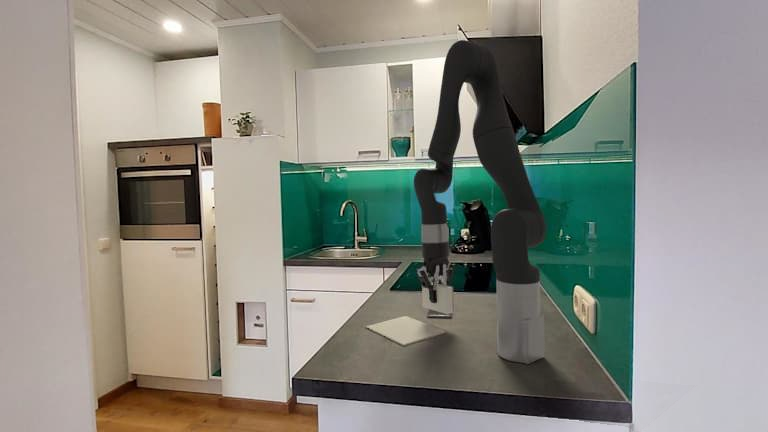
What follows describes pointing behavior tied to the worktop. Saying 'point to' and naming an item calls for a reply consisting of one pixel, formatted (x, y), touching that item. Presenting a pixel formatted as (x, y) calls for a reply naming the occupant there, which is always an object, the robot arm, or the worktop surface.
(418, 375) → the worktop surface
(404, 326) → the mat
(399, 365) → the worktop surface
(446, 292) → the block
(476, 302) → the worktop surface
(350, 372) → the worktop surface
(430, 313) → the smartphone
